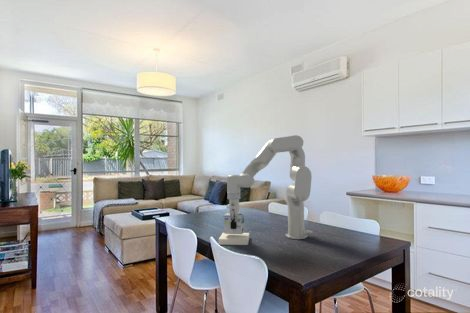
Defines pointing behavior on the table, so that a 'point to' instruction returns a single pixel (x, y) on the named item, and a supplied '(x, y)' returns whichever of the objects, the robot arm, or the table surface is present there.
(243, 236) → the base block
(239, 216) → the light bulb box
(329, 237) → the table surface
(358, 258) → the table surface
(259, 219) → the table surface
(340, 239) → the table surface
